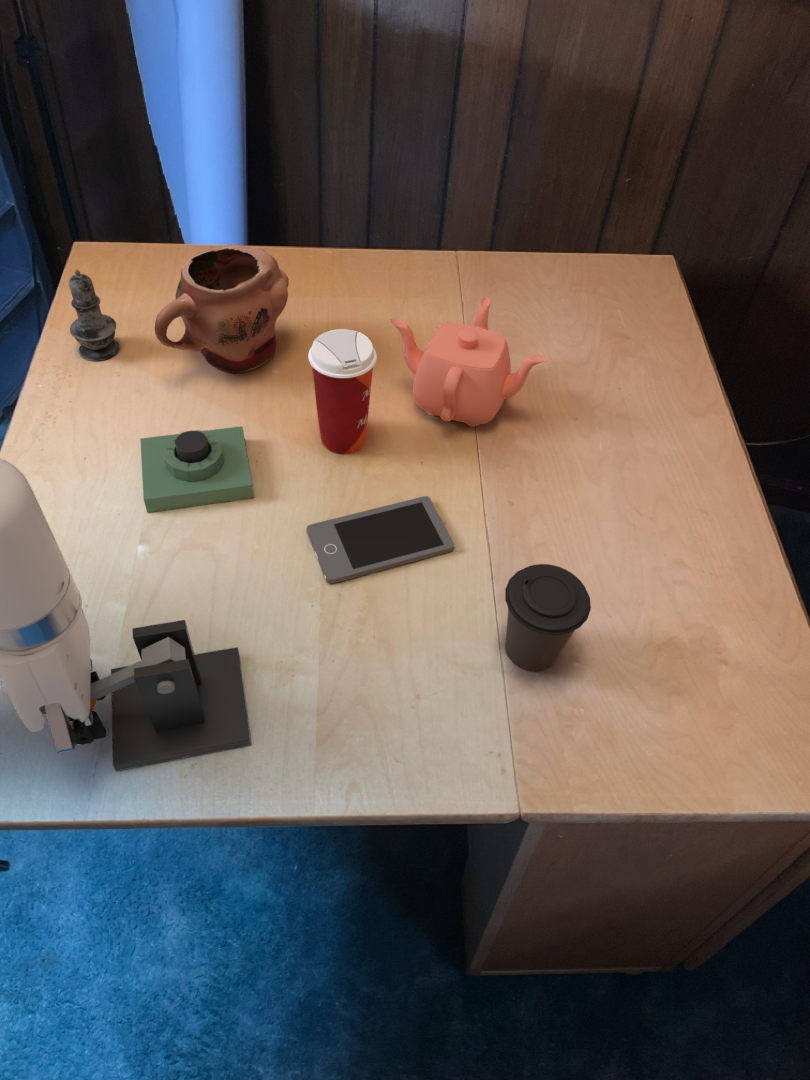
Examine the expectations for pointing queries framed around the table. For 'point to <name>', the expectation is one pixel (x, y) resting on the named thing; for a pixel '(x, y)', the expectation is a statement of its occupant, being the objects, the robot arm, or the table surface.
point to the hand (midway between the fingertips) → (88, 717)
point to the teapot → (463, 370)
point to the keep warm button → (192, 446)
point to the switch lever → (151, 655)
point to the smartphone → (379, 539)
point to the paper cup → (342, 387)
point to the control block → (195, 471)
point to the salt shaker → (91, 321)
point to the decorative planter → (228, 307)
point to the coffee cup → (543, 614)
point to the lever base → (178, 703)
